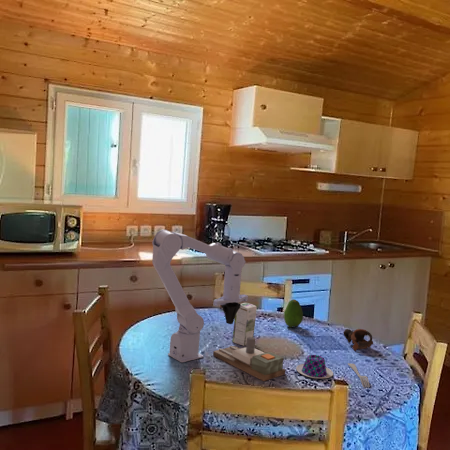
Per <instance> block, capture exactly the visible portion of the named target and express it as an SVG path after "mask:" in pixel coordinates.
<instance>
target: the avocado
mask: <svg viewBox="0 0 450 450" xmlns="http://www.w3.org/2000/svg"><path fill="white" fill-rule="evenodd" d="M303 312H304V311H303V309H302V305H301V304H300V302H299V301H298V300H296V298H295V299H293V298H292V299H291V300H289V301H288V303H287V305H286V308H285V309H284V312H283V318H284V323H285V324H286V326H288V327H289V328H296V327H299V326H300V325H301V323H302V322H303V320H304V319H303V318H304V313H303Z"/></svg>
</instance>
